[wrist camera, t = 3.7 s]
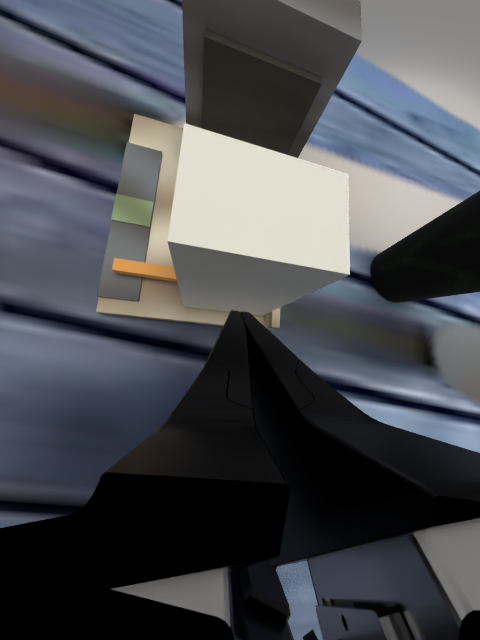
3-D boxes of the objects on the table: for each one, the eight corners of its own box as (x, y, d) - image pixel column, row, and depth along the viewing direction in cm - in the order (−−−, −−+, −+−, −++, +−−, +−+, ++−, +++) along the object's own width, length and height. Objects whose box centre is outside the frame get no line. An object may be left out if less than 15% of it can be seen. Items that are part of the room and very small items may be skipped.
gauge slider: (262, 315, 15) (349, 274, 7) (114, 298, 13) (-37, 203, 5) (265, 267, 16) (348, 173, 7) (124, 243, 14) (7, 68, 5)
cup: (348, 274, 19) (576, 166, 8) (384, 228, 21) (610, 87, 10) (400, 327, 20) (684, 300, 8) (431, 278, 22) (696, 200, 10)
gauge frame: (268, 330, 17) (369, 307, 7) (103, 314, 14) (-97, 239, 4) (276, 167, 19) (360, -14, 10) (137, 127, 17) (59, -181, 7)
